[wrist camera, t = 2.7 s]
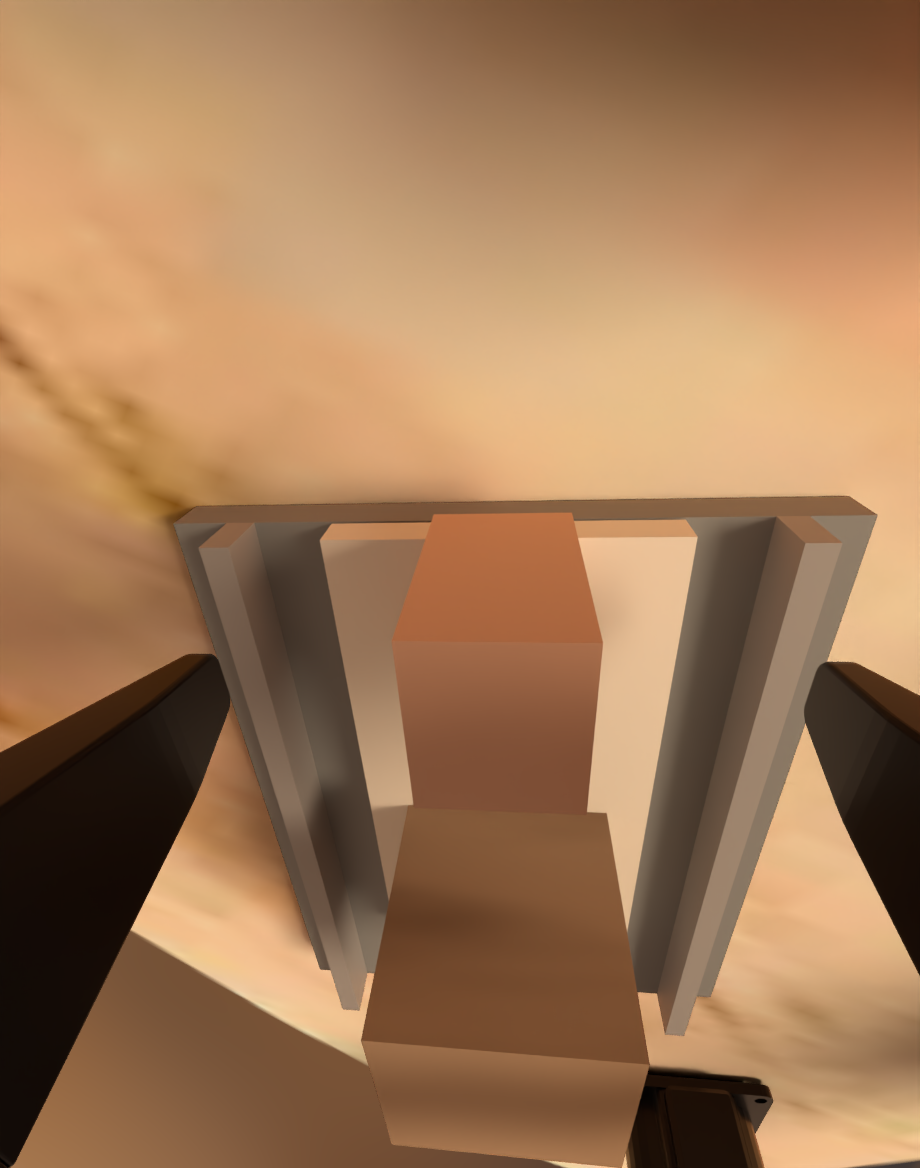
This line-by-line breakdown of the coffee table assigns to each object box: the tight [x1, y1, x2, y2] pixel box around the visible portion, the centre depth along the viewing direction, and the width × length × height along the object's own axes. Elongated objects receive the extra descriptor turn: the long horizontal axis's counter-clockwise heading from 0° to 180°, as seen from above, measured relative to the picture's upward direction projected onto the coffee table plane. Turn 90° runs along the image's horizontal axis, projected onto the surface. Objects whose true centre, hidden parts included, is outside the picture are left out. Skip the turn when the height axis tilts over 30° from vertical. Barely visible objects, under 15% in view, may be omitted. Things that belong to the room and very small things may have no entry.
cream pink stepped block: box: [320, 513, 698, 930], centre depth 12 cm, size 14×7×5 cm, turn 3°
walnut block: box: [361, 805, 650, 1168], centre depth 13 cm, size 5×5×5 cm
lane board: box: [173, 496, 877, 1036], centre depth 15 cm, size 18×14×2 cm
